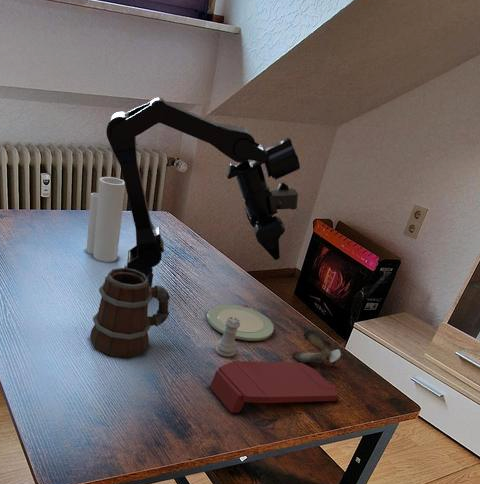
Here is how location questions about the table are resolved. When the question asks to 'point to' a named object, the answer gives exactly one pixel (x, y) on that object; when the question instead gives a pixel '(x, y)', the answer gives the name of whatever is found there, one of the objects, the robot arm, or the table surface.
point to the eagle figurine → (321, 344)
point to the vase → (105, 219)
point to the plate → (241, 322)
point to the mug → (126, 313)
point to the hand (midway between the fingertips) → (273, 251)
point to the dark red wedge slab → (269, 384)
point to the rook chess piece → (228, 338)
